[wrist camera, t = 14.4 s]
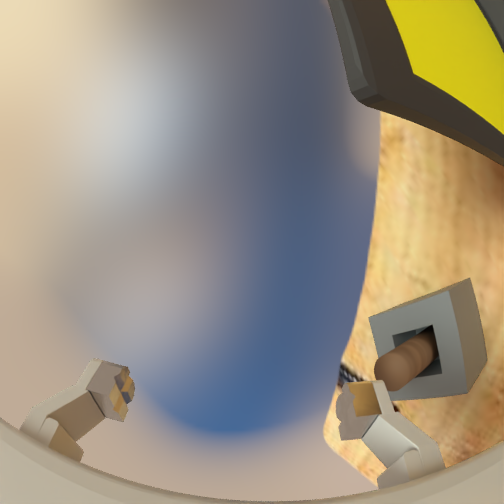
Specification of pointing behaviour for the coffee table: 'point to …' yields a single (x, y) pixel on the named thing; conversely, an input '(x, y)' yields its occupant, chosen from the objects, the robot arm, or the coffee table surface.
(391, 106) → the laptop
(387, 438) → the robot arm
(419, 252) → the coffee table surface
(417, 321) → the socket block
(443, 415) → the coffee table surface
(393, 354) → the walnut peg
